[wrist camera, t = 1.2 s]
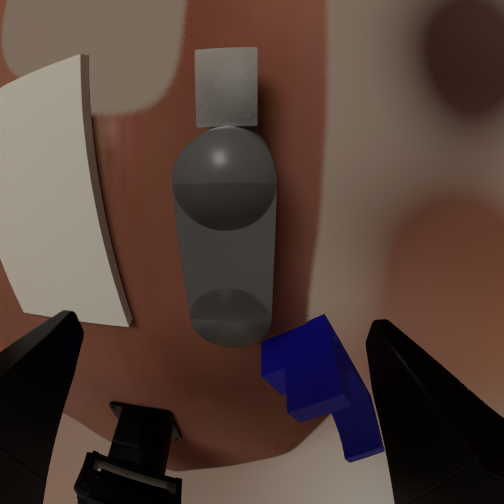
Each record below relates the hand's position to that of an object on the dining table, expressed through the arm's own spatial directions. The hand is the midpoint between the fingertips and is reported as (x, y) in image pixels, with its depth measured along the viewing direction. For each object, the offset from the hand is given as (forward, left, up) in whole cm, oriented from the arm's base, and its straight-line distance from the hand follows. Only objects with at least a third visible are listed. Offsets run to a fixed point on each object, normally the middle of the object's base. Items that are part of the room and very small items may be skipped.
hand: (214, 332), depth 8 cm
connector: (+2, 0, -8) cm, 8 cm away
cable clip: (-13, -7, -8) cm, 16 cm away
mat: (+1, +12, -8) cm, 14 cm away
